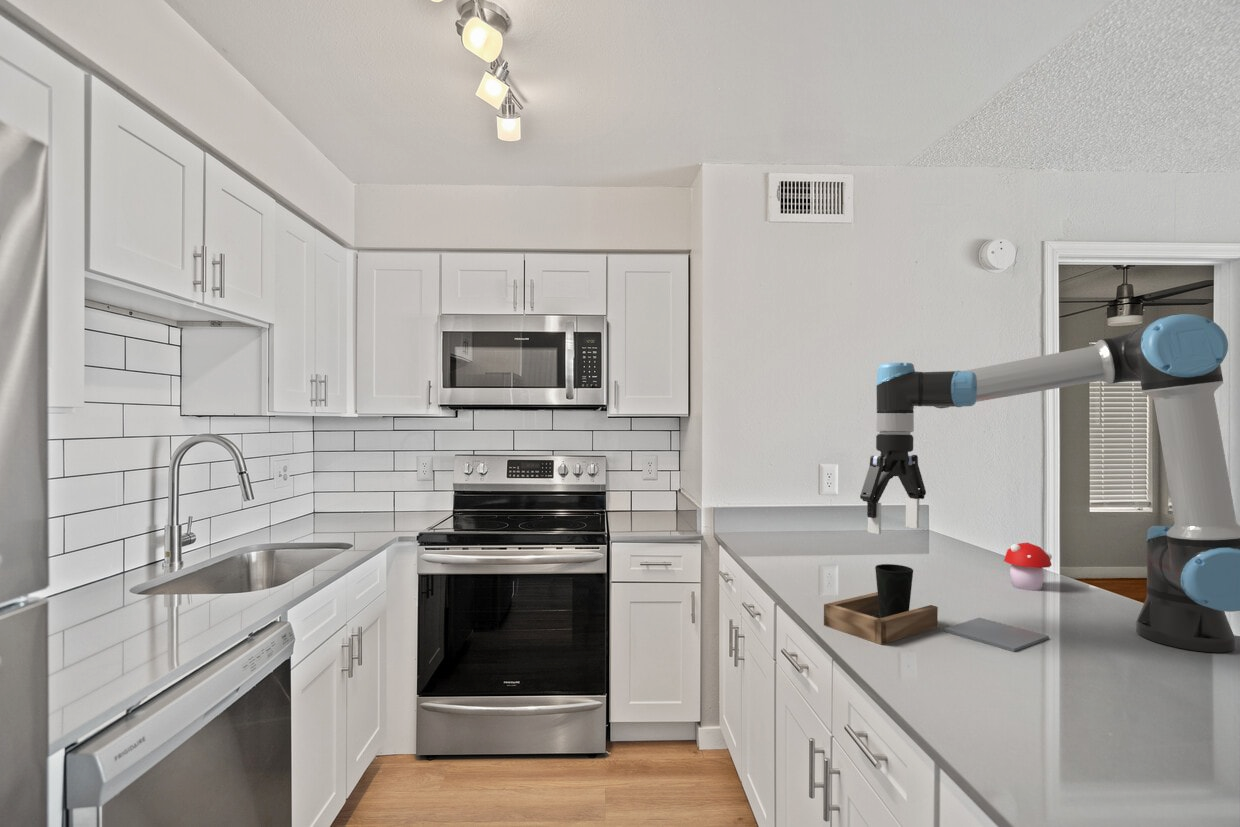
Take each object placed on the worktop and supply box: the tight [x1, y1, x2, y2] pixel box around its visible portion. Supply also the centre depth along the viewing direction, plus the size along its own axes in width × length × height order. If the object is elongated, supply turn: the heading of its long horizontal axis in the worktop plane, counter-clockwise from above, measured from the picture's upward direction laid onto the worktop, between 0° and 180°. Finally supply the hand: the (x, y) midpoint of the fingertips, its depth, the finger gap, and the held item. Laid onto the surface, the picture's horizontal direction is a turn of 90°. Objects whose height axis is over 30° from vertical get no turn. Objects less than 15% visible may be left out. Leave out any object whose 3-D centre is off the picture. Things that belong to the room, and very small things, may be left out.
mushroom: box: [1003, 542, 1053, 591], centre depth 171 cm, size 11×11×12 cm
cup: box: [874, 563, 914, 619], centre depth 141 cm, size 8×8×12 cm
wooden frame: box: [823, 591, 939, 645], centre depth 138 cm, size 14×20×4 cm
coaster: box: [943, 617, 1050, 653], centre depth 133 cm, size 14×14×1 cm
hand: (893, 530), depth 141 cm, fingers open, 13 cm apart
